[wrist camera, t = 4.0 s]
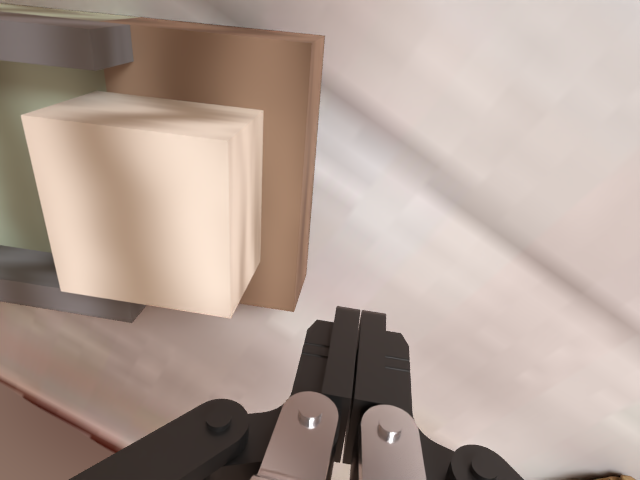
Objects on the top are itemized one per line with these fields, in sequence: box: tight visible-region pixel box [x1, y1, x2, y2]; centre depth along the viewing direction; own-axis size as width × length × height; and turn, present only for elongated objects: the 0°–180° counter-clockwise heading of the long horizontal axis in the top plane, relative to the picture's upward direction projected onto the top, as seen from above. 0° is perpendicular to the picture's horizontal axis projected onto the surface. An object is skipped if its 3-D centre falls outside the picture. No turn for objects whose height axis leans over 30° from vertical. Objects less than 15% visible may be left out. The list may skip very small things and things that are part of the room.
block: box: [21, 91, 263, 318], centre depth 21 cm, size 8×8×5 cm
